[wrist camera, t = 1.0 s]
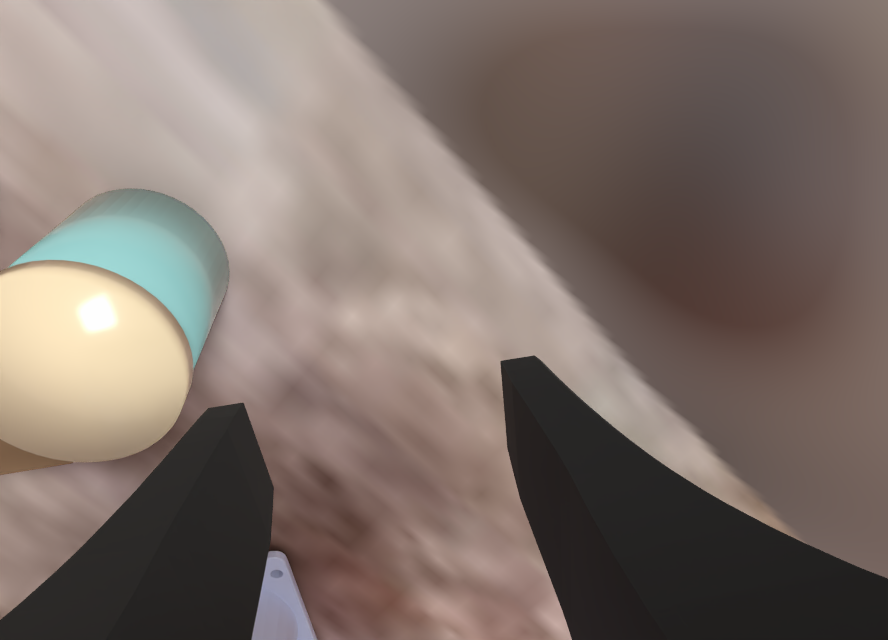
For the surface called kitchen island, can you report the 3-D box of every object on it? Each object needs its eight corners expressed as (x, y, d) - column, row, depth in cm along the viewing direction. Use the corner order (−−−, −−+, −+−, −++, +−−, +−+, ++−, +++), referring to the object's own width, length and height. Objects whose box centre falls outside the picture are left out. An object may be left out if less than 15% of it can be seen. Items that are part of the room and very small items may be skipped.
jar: (251, 321, 20) (213, 443, 15) (98, 345, 20) (5, 477, 15) (204, 173, 18) (138, 258, 12) (27, 199, 17) (-113, 296, 12)
